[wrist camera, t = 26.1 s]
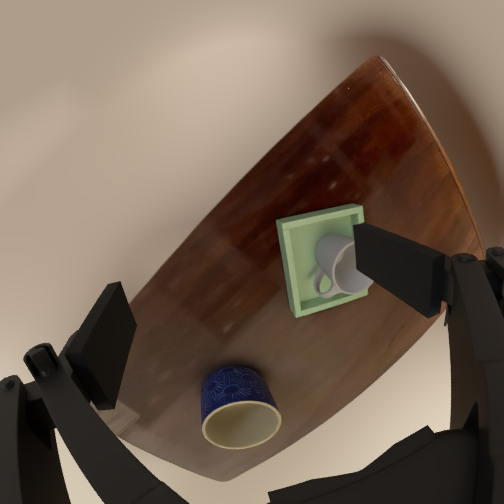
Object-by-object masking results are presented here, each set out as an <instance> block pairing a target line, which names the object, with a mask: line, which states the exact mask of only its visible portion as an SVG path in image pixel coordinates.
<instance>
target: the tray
mask: <svg viewBox="0 0 504 504" xmlns="http://www.w3.org/2000/svg"><path fill="white" fill-rule="evenodd" d="M360 223H364V215H363V206H361V205H357V204H348V205H343V206H338V207H333V208H328V209H324V210H319V211H314V212H309V213H305V214H300V215H296V216H291V217H286V218H282V219H277V220H276V224H277V230H278V236H279V242H280V248H281V254H282V260H283V266H284V272H285V279H286V285H287V291H288V298H289V305H290V310H291V311H292V313H293V314H294V316H295V317H296V318H297V317H301V316H304V315H307V314H311V313H314V312H317V311H320V310H324V309H327V308H330V307H333V306H336V305H339V304H342V303H345V302H348V301H351V300H354V299H357V298H360V297H363V296H366V295H368V288H367V289H366V290H364V291H363V292H360V293H357V294H345V293H343V292H342V293H338V294H335V295H334V296H332V297H330V298H327V299H326V298H322V297H321V296H319V295H318V294H317V293H316V292H315V290H314V285H313V284H314V278H315V275H316V273H317V270H318V268H319V264H318V263H317V261H316V259H315V249H316V246H317V244H318V242H319V241H320V240H321V239H322V238H323V237H324V236H326V235H329V234H339V235H344V236H349V237H353V238H354V232H353V225H355V224H360ZM330 286H331V280H330V279H329V278H328V276H327V275H325V276H324V277H323V278H322V280H321V283H320V292H326V291H328V290H329V289H330Z"/></svg>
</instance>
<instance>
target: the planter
mask: <svg viewBox="0 0 504 504" xmlns="http://www.w3.org/2000/svg"><path fill="white" fill-rule="evenodd" d="M201 418H202V432H203V435H204V436H205V438H206V439H207V440H208V441H209V442H211V443H212V444H214V445H216V446H218V447H222V448H227V449H245V448H250V447H254V446H257V445H259V444H262V443H264V442H265V441H267V440H269V439H270V438H271V437H272V436H274V435H275V433H276V432H277V431H278V429H279V428H280V425H281V415H280V413H279V410H278V408H277V406H276V403H275V401H274V399H273V397H272V394H271V392H270V390H269V388H268V386H267V384H266V383H265V381H264V379H263V378H262V377H261V376H260V375H259V374H258V373H257V372H256V371H254V370H252V369H250V368H247V367H243V366H228V367H224V368H221V369H219V370H217V371H215V372H214V373H212V374H211V375H210V376H209V377H208V378H207V380H206V381H205V383H204V385H203V388H202V394H201Z"/></svg>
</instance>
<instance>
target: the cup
mask: <svg viewBox="0 0 504 504" xmlns="http://www.w3.org/2000/svg"><path fill="white" fill-rule="evenodd" d="M315 259H316V261H317V263H318V264H319V268H318V270H317V273H316V275H315V278H314V284H313V285H314V290H315V292H316V293H317V294H318V295H319V296H321V297H322V298H326V299H327V298H330V297H332V296H334V295H335V294H338V293H342V292H343V293H345V294H357V293H360V292H363V291H364V290H366V289H367V288H368V287H369V286H370V285H371V284H372V283H373V282H374V281H373V280H371V279H370V278H368V277H367V276H365V275H364V274H362V273H361V272H359V271H358V270H356V257H355V244H354V238H353V237H349V236H344V235H339V234H329V235H326V236H324V237H323V238H322V239H321V240H320V241H319V242H318V244H317V246H316V249H315ZM325 275H327V276H328V278H329V279H330V280H331V286H330V289H329V290H328V291H326V292H320V283H321V280H322V278H323V277H324V276H325Z"/></svg>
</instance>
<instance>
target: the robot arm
mask: <svg viewBox="0 0 504 504" xmlns="http://www.w3.org/2000/svg"><path fill="white" fill-rule="evenodd" d="M353 232H354V244H355V257H356V270H358V271H359V272H361V273H362V274H364V275H365V276H367V277H368V278H370V279H371V280H373V281H374V282H376V283H377V284H379V285H380V286H382V287H383V288H385V289H386V290H388V291H389V292H391V293H392V294H393V295H395V296H396V297H398V298H399V299H401V300H402V301H404V302H405V303H407V304H408V305H409V306H411V307H412V308H414V309H415V310H417V311H418V312H419V313H421V314H422V315H424V316H425V317H426V318H428V319H429V318H431V317H433V316H435V315H437V314H439V313H440V309H441V301H442V300H443V301H444V302H446V303H447V309H446V316H445V322H444V326H446V325H447V323H448V332H449V346H450V362H451V419H450V430H444V431H441V432H436V433H434V432H433V431H432V430H431V429H430V428H429V426H428V425H427V426H425V427H424V428H422V429H420V430H419V431H417V432H415V433H413V434H412V435H410V436H408V437H407V438H405V439H403V440H401V441H399V442H398V443H395V444H394V445H393V446H392V447H391V448H389V449H388V450H387V451H386V452H384V453H383V454H382V455H381V456H379V457H378V458H377V459H376V460H374V461H373V462H372V463H370V464H369V465H368V466H367V467H365V468H364V469H362V470H360V471H358V472H354V473H349V474H343V475H338V476H332V477H326V478H319V479H312V480H309V481H305V482H303V483H299V484H296V485H293V486H289V487H286V488H282V489H278V490H274V491H271V492H268V495H269V498H270V502H269V503H267V504H504V249H503V248H502V247H492V248H488V249H487V251H486V259H485V260H480V261H479V260H478V259H477V258H476V257H475V256H474V255H470V254H467V253H461V254H455V255H453V256H452V257H449V256H447V255H445V254H444V253H441V252H439V251H437V250H434V249H432V248H429V247H427V246H424V245H422V244H419V243H417V242H414V241H412V240H409V239H407V238H404V237H402V236H399V235H396V234H394V233H391V232H388V231H386V230H383V229H380V228H378V227H375V226H372V225H369V224H367V223H360V224H355V225H353ZM136 327H137V324H136V322H135V319H134V317H133V314H132V312H131V309H130V306H129V304H128V301H127V298H126V296H125V293H124V290H123V288H122V285H121V282H120V281H119V282H115V283H111V284H108V285H107V286H106V288H105V289H104V291H103V292H102V294H101V295H100V297H99V298H98V300H97V301H96V303H95V304H94V306H93V308H92V309H91V311H90V312H89V314H88V315H87V317H86V319H85V320H84V322H83V323H82V325H81V327H80V328H79V330H77V331H76V332H75V333H74V334H73V335H71V337H70V338H69V339H68V341H67V343H66V344H65V346H64V348H63V350H62V351H61V353H60V354H59V356H58V357H57V355H56V353H55V351H54V349H53V347H52V345H51V344H49V343H42V344H39V345H37V346H35V347H33V348H31V349H30V350H29V351H28V352H27V353H26V354H25V356H24V359H23V360H24V362H25V364H26V366H27V367H28V369H29V370H30V372H31V374H32V376H33V377H34V379H35V381H33V382H30V383H27V384H23V382H22V381H21V379H20V378H19V377H18V376H17V375H12V376H9V377H7V378H4V379H3V380H1V381H0V504H71V502H70V499H69V495H68V492H67V488H66V484H65V481H64V476H63V472H62V468H61V463H60V459H59V454H58V448H57V443H56V437H55V431H54V429H55V428H57V430H58V431H59V433H60V435H61V437H62V439H63V441H64V443H65V444H66V446H67V448H68V449H69V451H70V453H71V455H72V456H73V458H74V460H75V461H76V463H77V464H78V466H79V468H80V469H81V471H82V472H83V474H84V475H85V477H86V478H87V480H88V481H89V483H90V484H91V486H92V487H93V489H94V490H95V491H96V492H97V494H98V496H99V497H100V498H101V500H102V501H103V502H104V503H105V504H189V503H188V502H187V501H186V500H184V499H183V498H182V497H181V496H179V495H178V494H177V493H176V492H174V491H173V490H172V489H171V488H170V487H169V486H167V485H166V484H165V483H164V482H162V481H160V480H159V479H158V478H156V477H155V476H154V475H153V474H152V473H151V472H150V471H149V470H148V469H147V468H146V467H145V466H144V465H143V464H142V463H141V462H140V461H139V460H138V459H137V458H136V457H135V456H134V455H133V454H132V453H131V452H130V451H129V450H128V449H127V448H126V447H125V446H124V444H123V443H122V442H121V441H120V440H119V439H118V438H117V437H116V436H115V434H114V433H113V432H112V431H111V430H110V429H109V427H108V426H107V425H106V424H105V423H104V421H103V420H102V419H101V418H100V417H99V415H98V414H97V413H96V412H95V410H94V409H93V408H92V406H91V405H90V402H91V401H92V402H93V404H94V405H95V407H96V408H97V410H110V409H115V405H116V401H117V397H118V393H119V389H120V385H121V381H122V377H123V373H124V369H125V366H126V362H127V358H128V355H129V351H130V348H131V344H132V341H133V337H134V334H135V331H136Z"/></svg>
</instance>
